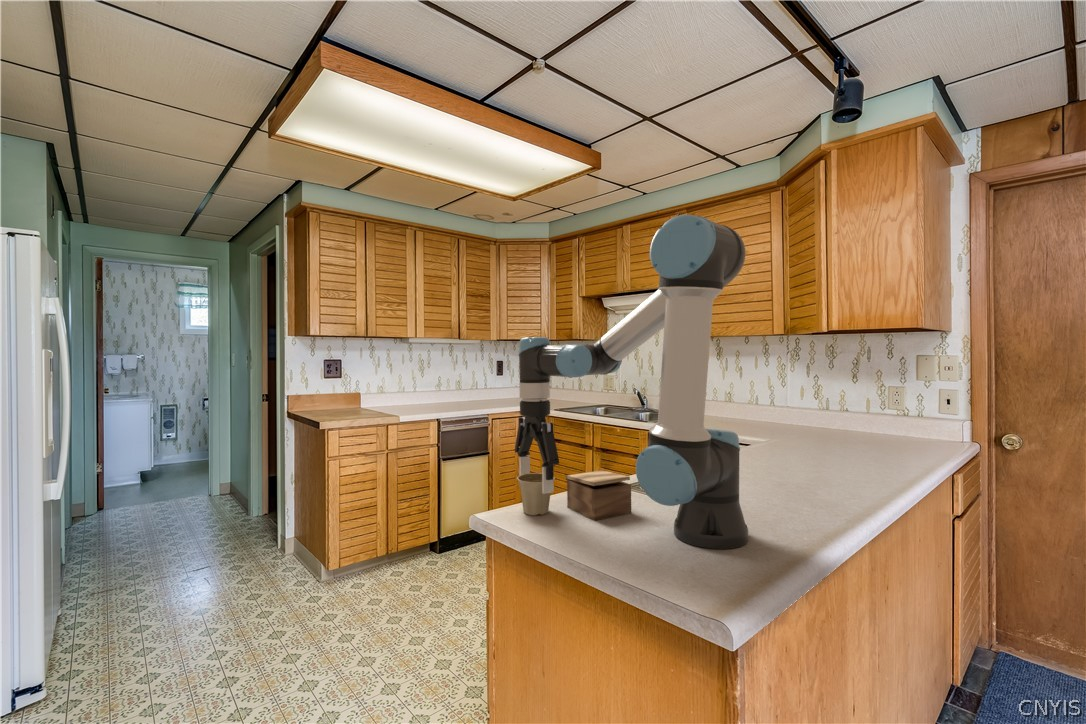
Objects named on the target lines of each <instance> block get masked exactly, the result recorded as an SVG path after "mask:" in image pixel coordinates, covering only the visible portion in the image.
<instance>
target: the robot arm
mask: <svg viewBox="0 0 1086 724" xmlns="http://www.w3.org/2000/svg"><path fill="white" fill-rule="evenodd" d="M649 260H650V263H651V267H653V268H654V270H655V271H656V272H657V273H656V274H658V275H659V279H658V280H659V282H658V289H657V290H656V291H654V292H653V293H652V294H651V295H650V296H648V297H647V299H645V300H644V301H643V302H642V303H641V304H639V305H638V306H637V307H635V308H634V309H633V310H632V311H631V312H630V313H628V314H627V315H625V317H624V318H623V319H622V320H620V321H619V322H618V323H617V324H615V326H613V327H611V329H610V330H608V331H607V332H606V333H605V334H604V335H602V337H601V338H599V339H597V340H596V342H593V343H592V344H577V343H569V344H554V345H553V344H550V339H549V338H548V337H544V336H539V337H538V336H535V337H528V336H527V337H522V338H521V339H520V340H519V345H518V346H519V347H518V348H519V350H518V359H519V360H518V362H519V367H518V368H519V371H518V372H519V387H518V388H519V399H521V400H520V401H519V414H520V416H522V417H518V427H517V428H518V429H517V433H516V439H515V445H514V452H515V453H516V454H517V456H518V461H519V463H518V464H519V465H518V467H519V471H518V472H519V474H518V476H520V475H524V474H529V473H531V452H530V449H531V446H532V444H533V441H534V442H536V444H537V446H538V450H539V453H540V456H541V459H542V464H541V473H542V493H543V494H546V493H555V491H554V490H555V488H554V487H555V486H554V481H555V480H554V477H555V475H554V473H555V471H554V470H555V469H554V467H555V466H556V465H559V464H560V459H559V453H558V449H557V443H556V438H555V433H554V423H553V422H547V420H546V418H547V416H550V415H551V400H549V398H551V385H550V382H551V381H550V380H551V379H550V378H551V377H560V378H561V377H564V378H570V379H571V378H582V377H585V376H596V375H597V376H599V375H601V376H602V375H603V376H604V375H608V374H612V373H616V372H617V371H618V370H619V369H620V368H621V365H622V363H623V360H624V359H625V358H626V357H628V356H629V355H630V354H632V353H633V352H634V351H636V350H637V349H638V348H639V347H641V346H642V345H644V343H646V342H648V340H650V339H651V338H652V337H654V336H655V335H656V334H657V333H659V332H660V331H661V330H663V342H662V343H663V344H662V355H661V356H662V357H661V370H660V386H659V400H658V413H657V414H658V415H657V422H656V423H655V424H654V425H652V427H650V428H649V430H648V442H647V446H646V447H645V448H644V449H643V450H642V451H641V452H639V454H638V456H637V458H636V462H635V475H636V479H637V481H638V484H639V486H640V488H641V489H643V492H645V494H646V495H647V496H648V498H650V499H651V500H652V501H654V502H655V503H658V504H659V505H662V506H665V507H666V506H667V507H675V506H679V507H678V511H677V515H676V518H675V520H674V522H673V534H674V536H675V537H676V538H677V539H678V540H679V541H682V542H683V543H685V544H688V545H691V546H695V547H699V548H705V549H716V550H727V549H736V548H739V547H742V546H745V545H747V543H749V527H748V525H747V523H746V522H745V517H744V514H743V511H742V507H741V503H740V451H741V447H740V439H739V438H740V437H739V435H738V434H737V433H736V432H735V431H731V430H724V429H715V428H714V429H713V428H705V426H704V425H705V423H704V422H705V412H706V411H705V410H706V401H707V400H706V399H707V388H708V387H707V384H708V383H707V382H708V371H709V360H710V359H709V358H710V357H709V356H710V347H711V335H712V334H711V333H712V322H713V321H712V320H713V307H714V301H715V299H716V298H717V297H718V296H719V295H721V293H723V289H724V288H725V287H726V286H728V284H730V283H731V282H732V281H734V279H735V278H736V277H737V276H738V275H739V273H740V272H741V270H742V269H743V266H744V264H745V262H746V246H745V243H744V241H743V239H742V237H741V235H740V234H739V233H738V232H737V231H736V230H735V229H733V228H731V227H729V226H726V225H723V224H720V223H717V222H714V221H712V220H710V219H708V218H706V217H704V216H702V215H693V214H681V215H680V214H679V215H676V216H674V217H672V218H670V219H668V220H667V221H665V222H664V224H663V225H662V226H661V227H660V228H658V229H657V231H656V232H655V234H654V236H653V238H652V240H651V243H650V248H649Z"/></svg>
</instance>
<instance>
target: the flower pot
mask: <svg viewBox="0 0 1086 724" xmlns="http://www.w3.org/2000/svg"><path fill="white" fill-rule="evenodd" d="M516 481H518V486H519V487H520V495H521V501H522V503H521V504H522V510H523V512H524V514H526V515H529V516H538V515H546V514H547V513H549V510H550V508H549V507H550V500H551V493H546V494H543V493H542V472H533V473H531V472H530V473H529V474H524V475H520V476H519V475H518V476H516ZM554 481H555V476H554Z"/></svg>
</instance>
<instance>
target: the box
mask: <svg viewBox="0 0 1086 724" xmlns="http://www.w3.org/2000/svg"><path fill="white" fill-rule="evenodd" d="M566 484H567V485H566V495H567V497H566V498H567V500H566V502H567V505H566V506H567V508H568V509H569V510H571V511H574V512H576V513H578V514H580V515H582V516H583V517H586V518H588V519H590V520H592V521H594V522H595V521H600V520H605V519H609V518H615V517H618V516H622V515H623V516H624V515H628V514H632V484H630V483H627V482H625V481H620V482H614V483H609V484H603V485H597V486H592V485H588V484H584V483H581V482H577V481H574V480H566Z"/></svg>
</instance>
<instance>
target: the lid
mask: <svg viewBox="0 0 1086 724" xmlns="http://www.w3.org/2000/svg"><path fill="white" fill-rule="evenodd" d="M565 480H566V481H567V480H574V481H577V482H581V483H584V484H588V485H592V486H597V485H603V484H609V483H614V482H620V481H622V482H625V481H630V480H631V476H629V475H624V474H619V473H614V472H611V471H606V470H595V471H588V472H583V473H582V472H581V473H576V474H570V475H569V474H568V475H566V477H565Z"/></svg>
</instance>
